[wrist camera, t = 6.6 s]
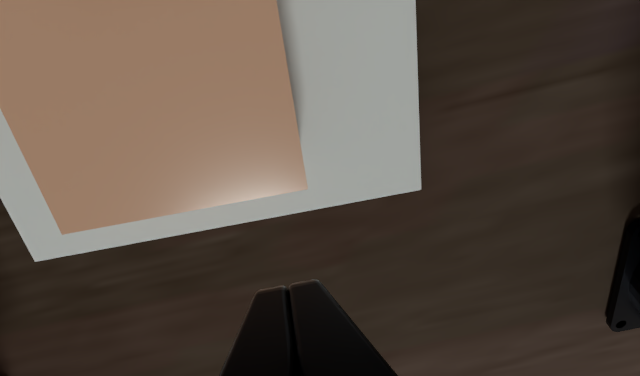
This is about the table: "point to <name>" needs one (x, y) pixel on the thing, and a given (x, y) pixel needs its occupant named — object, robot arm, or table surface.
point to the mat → (312, 120)
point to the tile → (148, 105)
